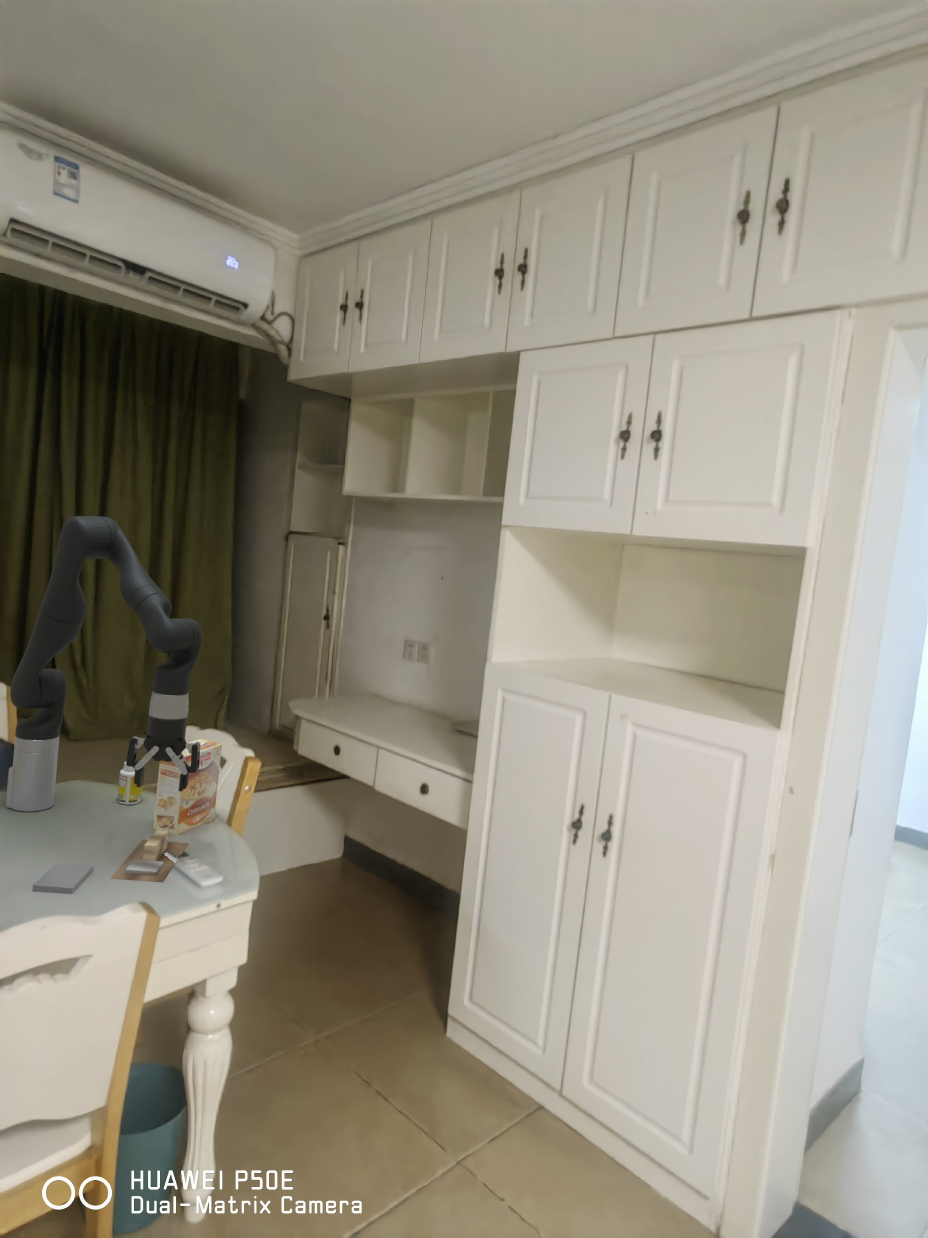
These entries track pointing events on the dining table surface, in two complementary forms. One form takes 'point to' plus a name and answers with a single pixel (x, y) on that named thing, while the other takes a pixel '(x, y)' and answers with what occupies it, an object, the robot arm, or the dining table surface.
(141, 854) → the board
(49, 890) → the glazed tile
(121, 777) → the supplement bottle
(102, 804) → the dining table surface
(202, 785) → the coffeecake box
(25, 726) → the robot arm
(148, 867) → the turner
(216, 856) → the dining table surface
